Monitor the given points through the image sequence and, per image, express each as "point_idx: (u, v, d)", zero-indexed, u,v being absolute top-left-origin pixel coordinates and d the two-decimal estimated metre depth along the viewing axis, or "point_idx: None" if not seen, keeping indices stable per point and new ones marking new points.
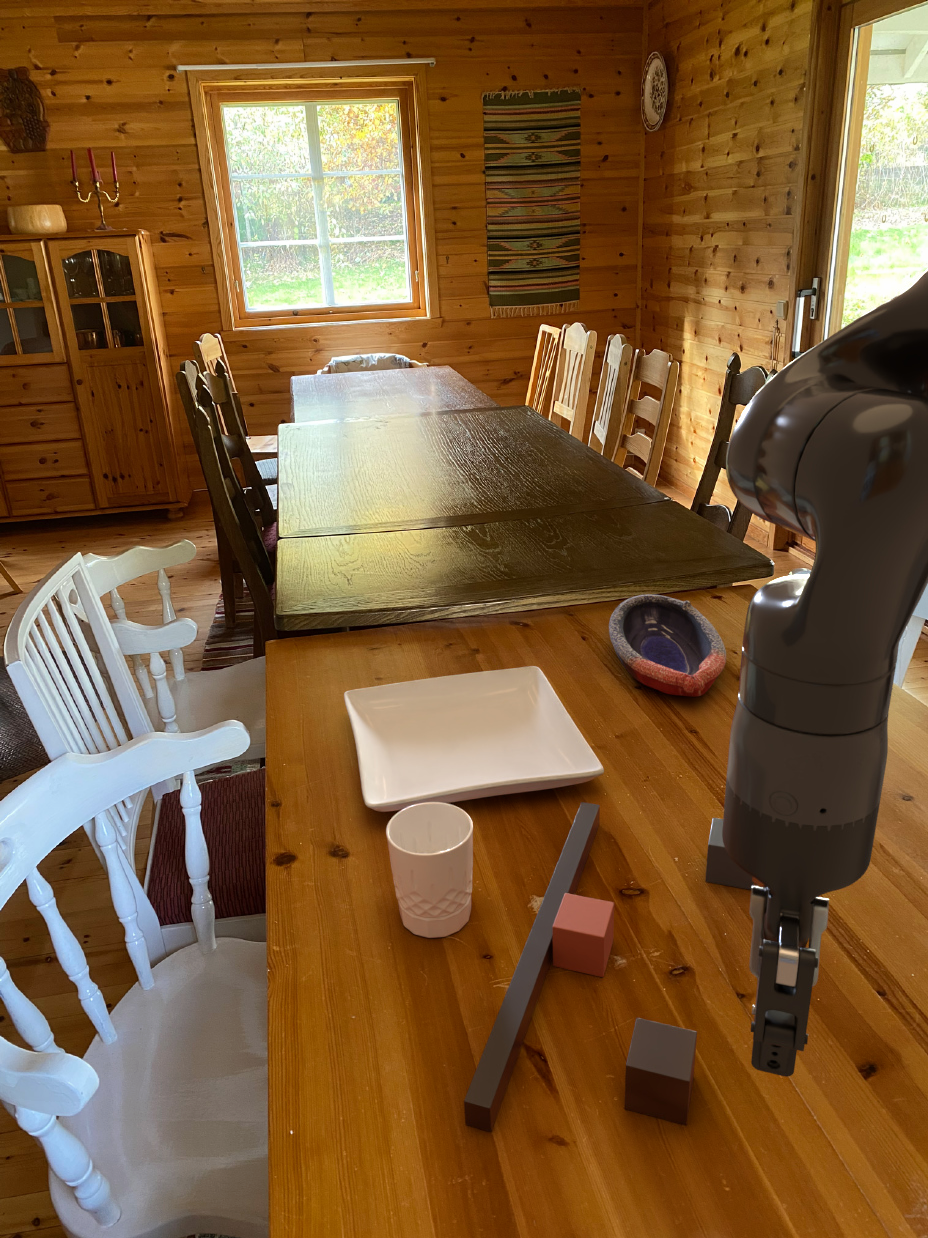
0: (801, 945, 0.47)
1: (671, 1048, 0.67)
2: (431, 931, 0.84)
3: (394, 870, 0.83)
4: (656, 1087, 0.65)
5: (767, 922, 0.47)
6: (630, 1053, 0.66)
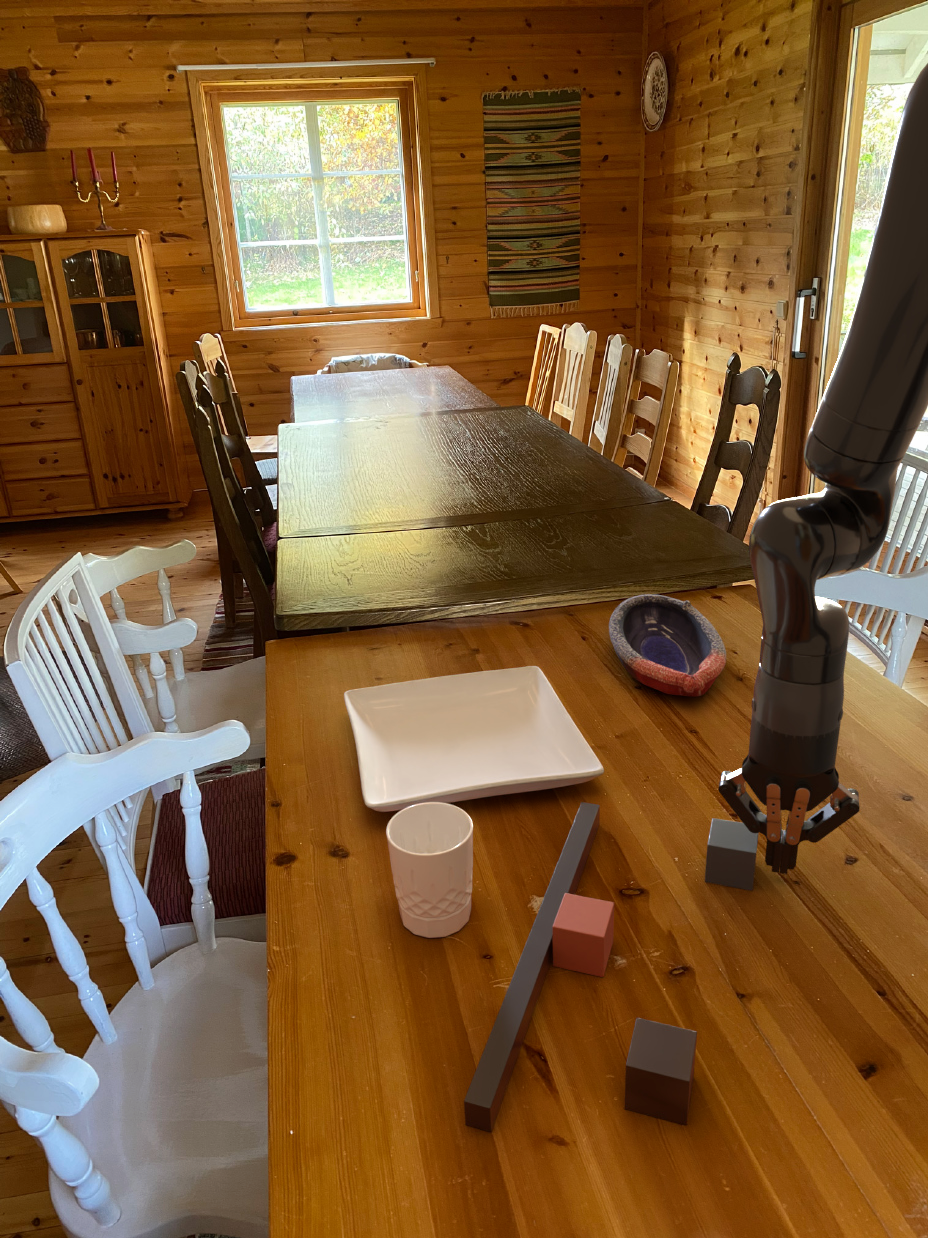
0: None
1: (671, 1048, 0.67)
2: (431, 931, 0.84)
3: (394, 870, 0.83)
4: (656, 1087, 0.65)
5: (834, 786, 0.82)
6: (630, 1053, 0.66)
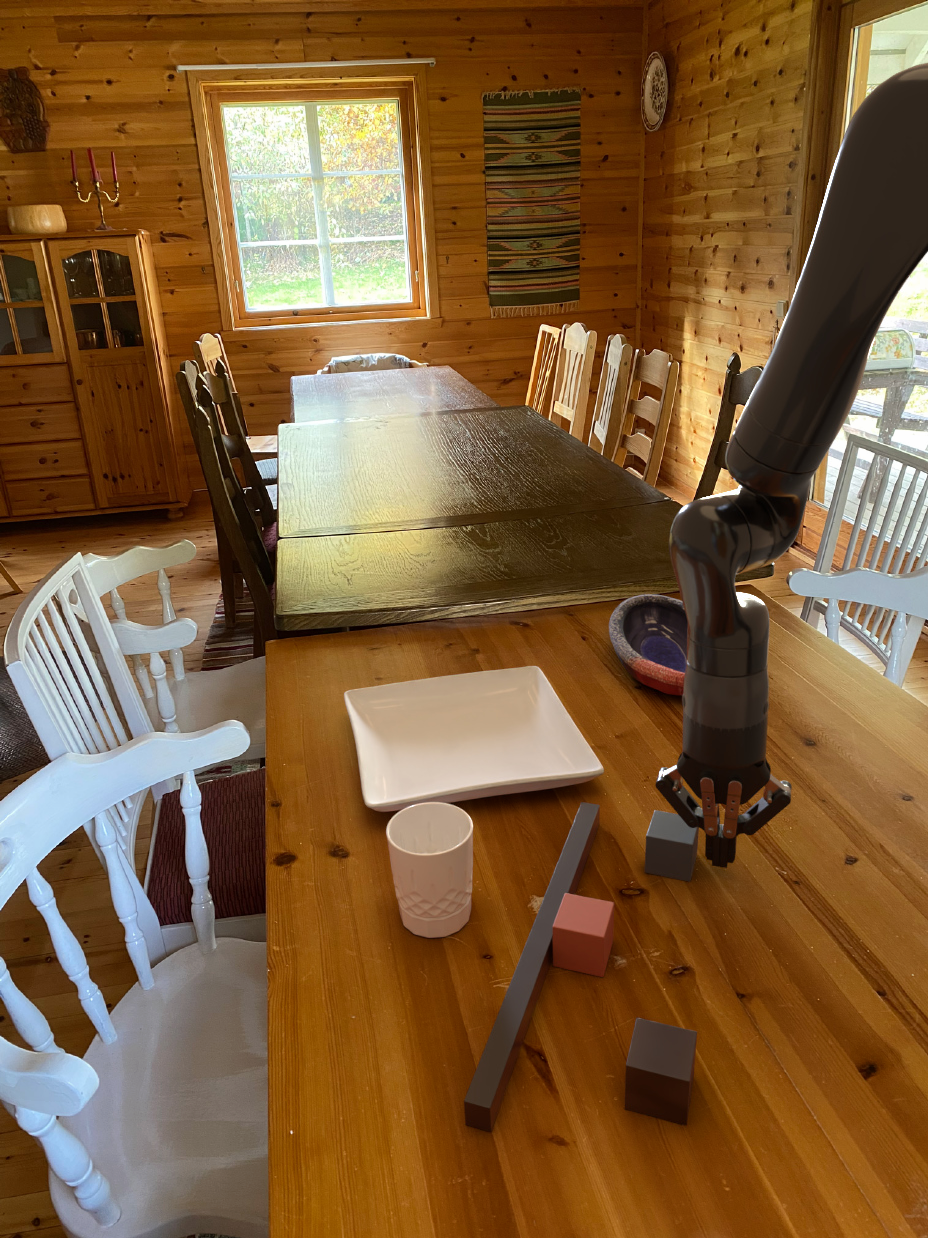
0: None
1: (671, 1048, 0.67)
2: (431, 931, 0.84)
3: (394, 870, 0.83)
4: (656, 1087, 0.65)
5: (765, 778, 0.84)
6: (630, 1053, 0.66)
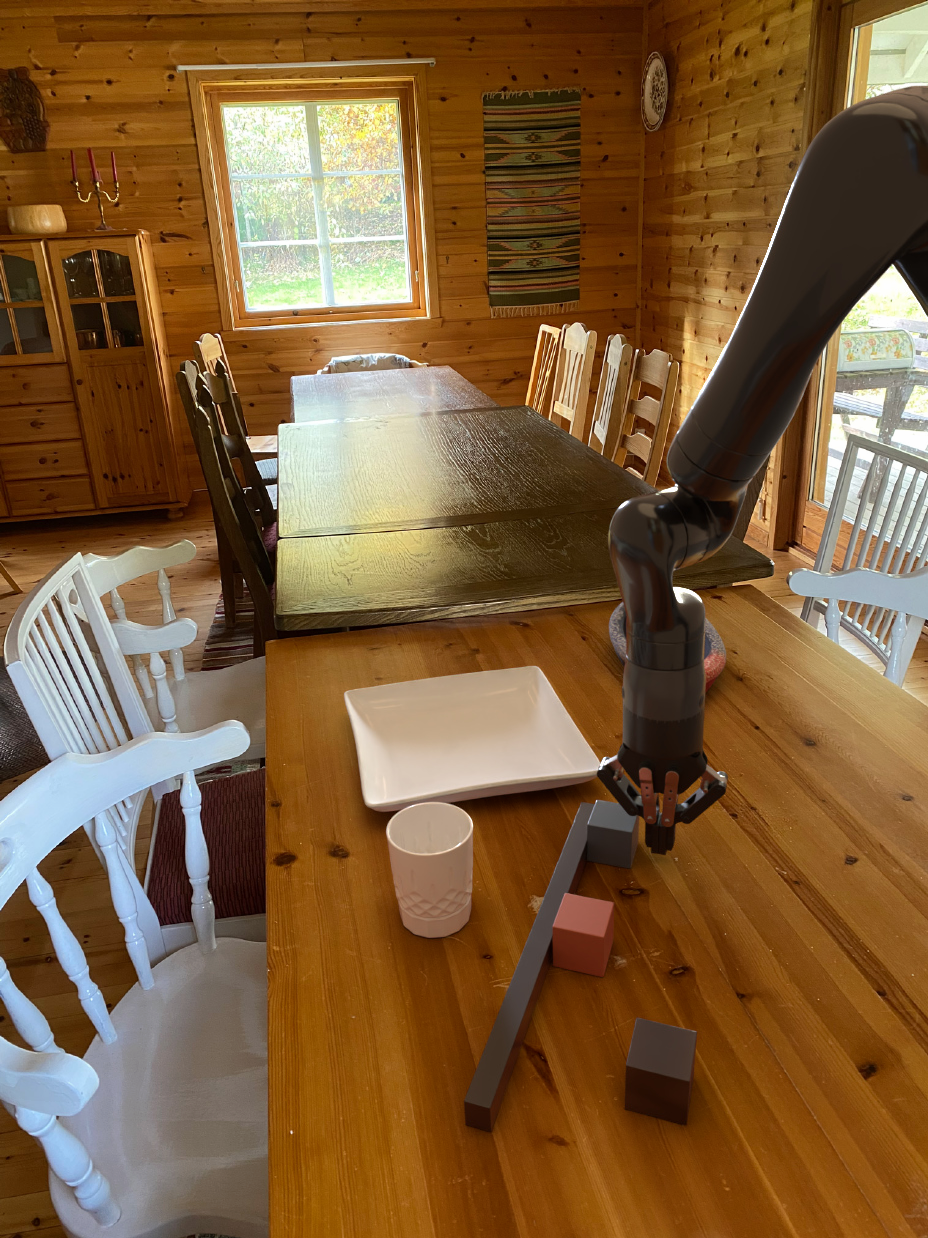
0: None
1: (671, 1048, 0.67)
2: (431, 931, 0.84)
3: (394, 870, 0.83)
4: (656, 1087, 0.65)
5: (701, 769, 0.86)
6: (630, 1053, 0.66)
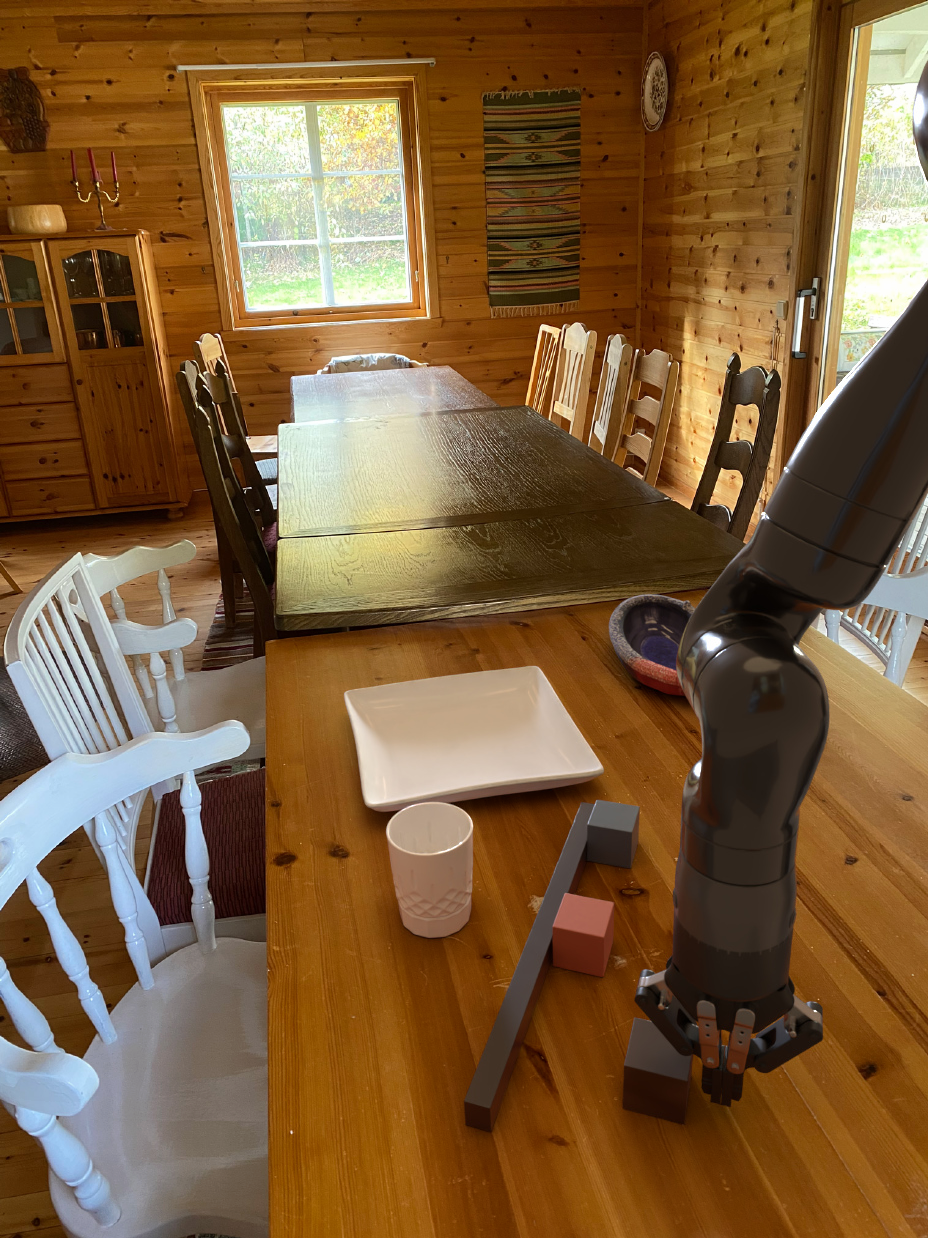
0: None
1: (669, 1048, 0.67)
2: (431, 931, 0.84)
3: (394, 870, 0.83)
4: (654, 1087, 0.65)
5: (788, 1006, 0.60)
6: (628, 1053, 0.66)
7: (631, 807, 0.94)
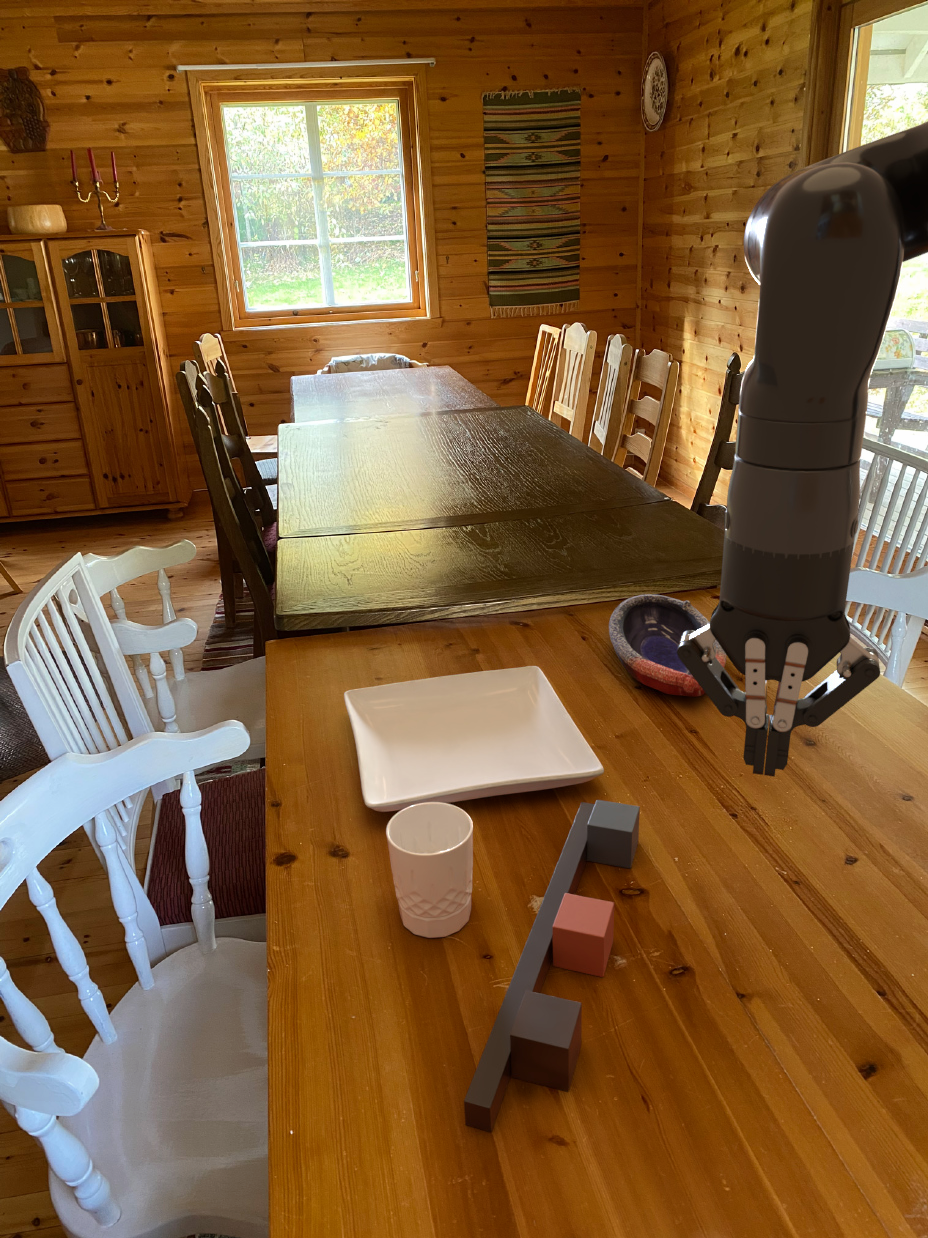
0: None
1: (555, 1018, 0.70)
2: (431, 931, 0.84)
3: (394, 870, 0.83)
4: (538, 1055, 0.68)
5: (843, 639, 0.56)
6: (515, 1023, 0.69)
7: (631, 807, 0.94)
